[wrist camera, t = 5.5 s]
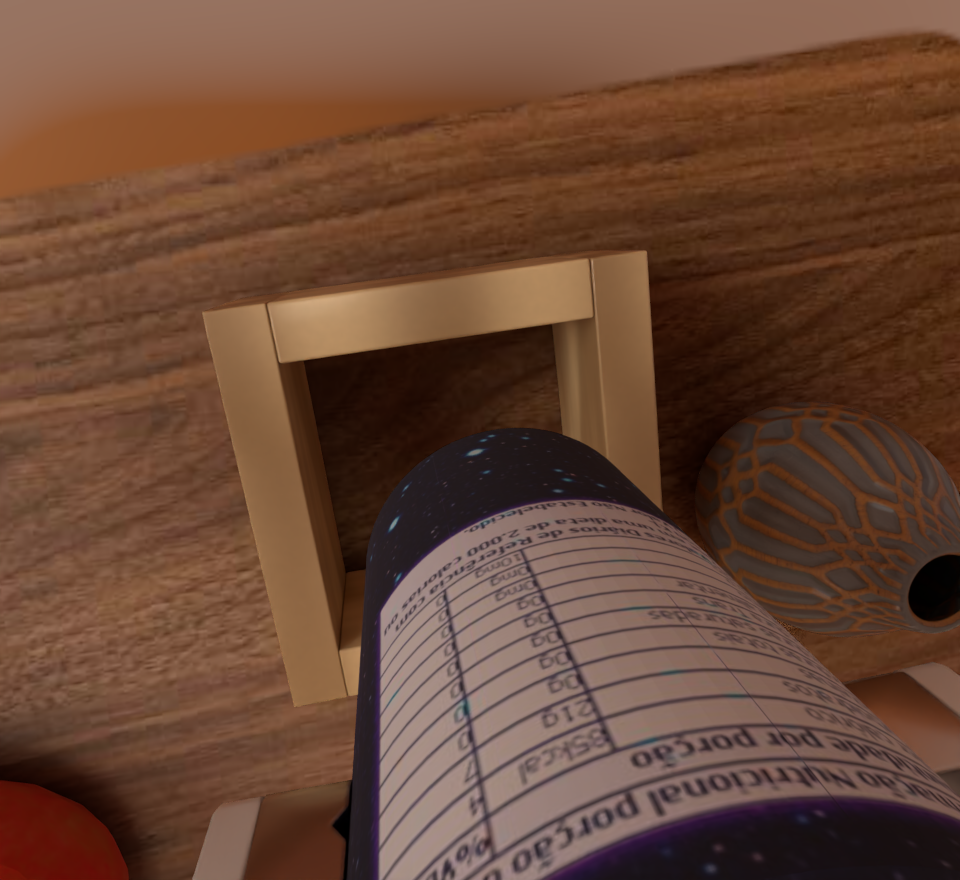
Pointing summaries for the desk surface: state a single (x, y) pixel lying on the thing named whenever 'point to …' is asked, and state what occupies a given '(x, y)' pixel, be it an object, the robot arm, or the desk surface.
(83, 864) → the apple
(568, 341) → the holder
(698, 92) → the desk surface
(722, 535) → the vase
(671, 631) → the beverage can
